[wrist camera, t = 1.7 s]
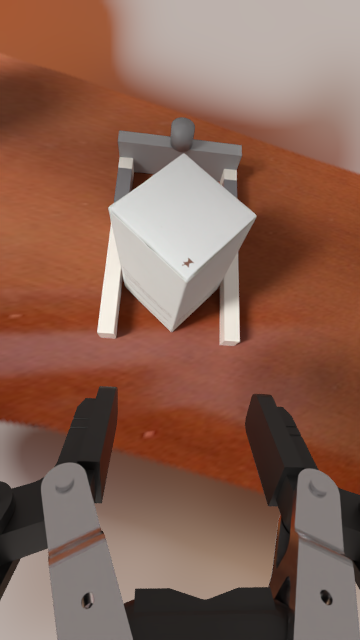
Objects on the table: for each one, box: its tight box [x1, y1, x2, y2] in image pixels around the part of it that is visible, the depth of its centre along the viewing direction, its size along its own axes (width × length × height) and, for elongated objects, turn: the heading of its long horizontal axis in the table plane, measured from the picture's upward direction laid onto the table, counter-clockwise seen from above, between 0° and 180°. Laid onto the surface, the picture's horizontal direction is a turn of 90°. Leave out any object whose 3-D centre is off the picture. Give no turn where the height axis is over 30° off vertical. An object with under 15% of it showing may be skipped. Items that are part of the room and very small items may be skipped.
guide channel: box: [97, 118, 242, 346], centre depth 30 cm, size 14×22×6 cm, turn 178°
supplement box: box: [108, 153, 257, 332], centre depth 25 cm, size 7×7×13 cm
